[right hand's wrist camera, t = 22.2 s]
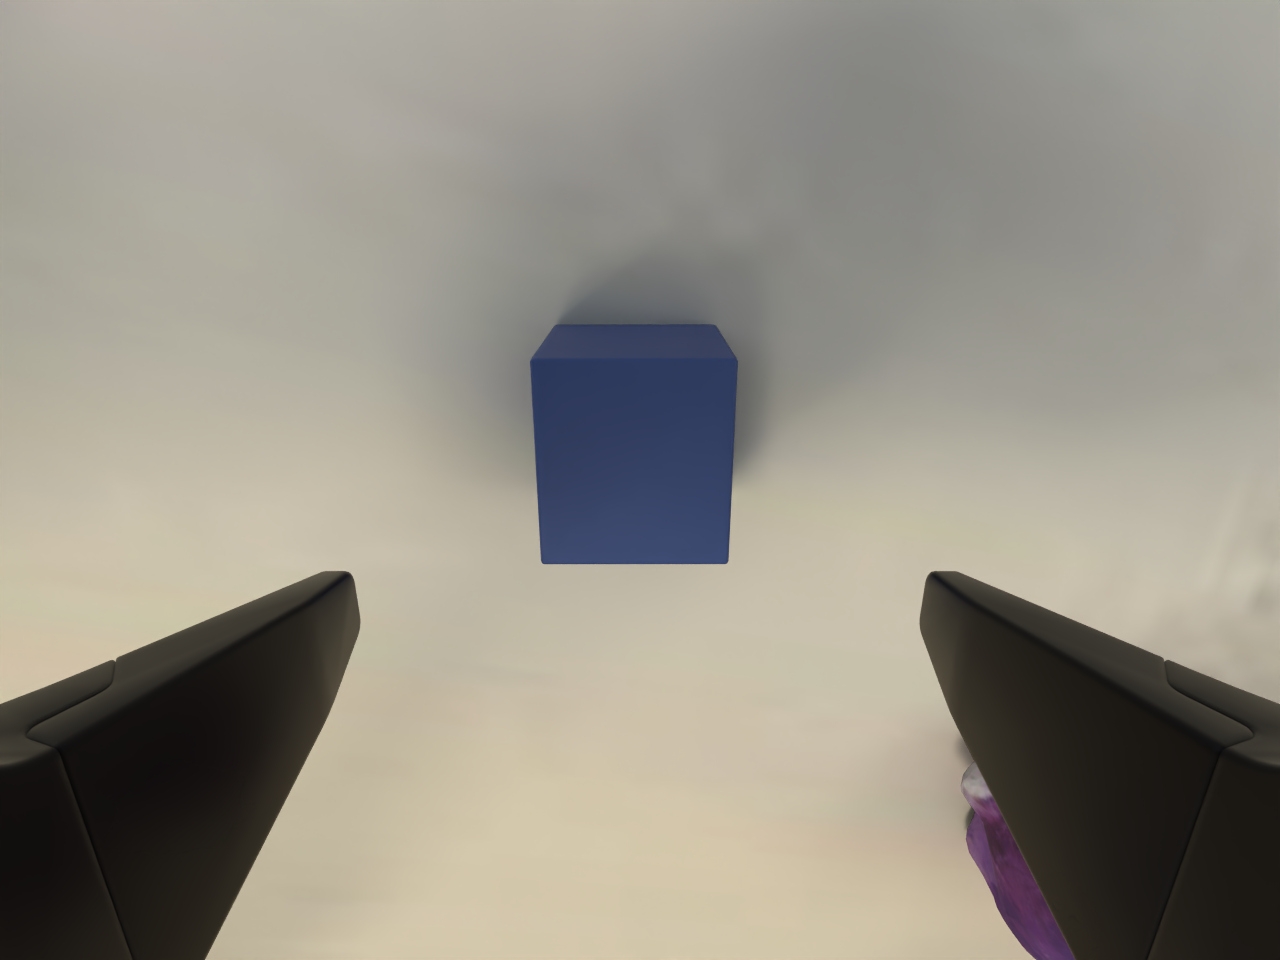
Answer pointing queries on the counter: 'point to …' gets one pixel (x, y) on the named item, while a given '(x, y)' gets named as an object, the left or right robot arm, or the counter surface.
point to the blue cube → (634, 444)
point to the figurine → (1009, 874)
